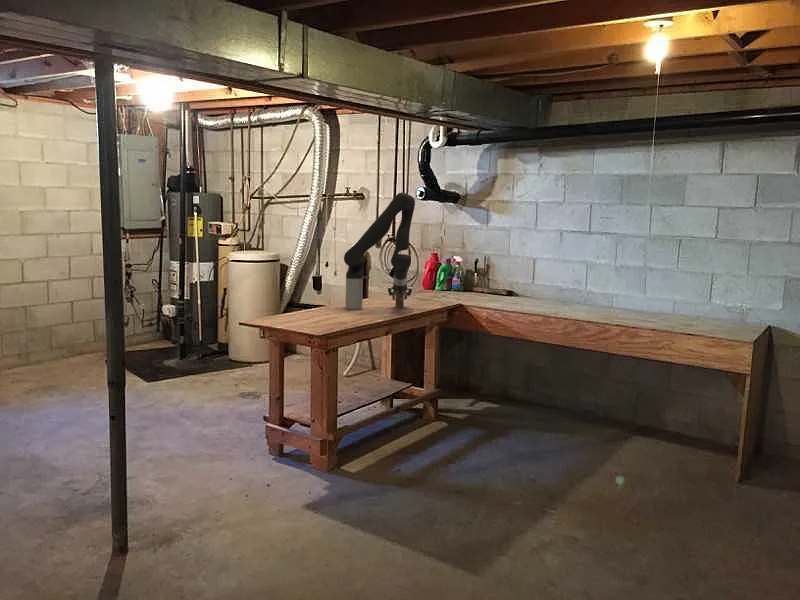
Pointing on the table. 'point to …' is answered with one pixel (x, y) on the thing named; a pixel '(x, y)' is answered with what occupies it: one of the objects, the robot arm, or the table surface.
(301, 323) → the table surface
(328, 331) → the table surface
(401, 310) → the mat
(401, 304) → the block
